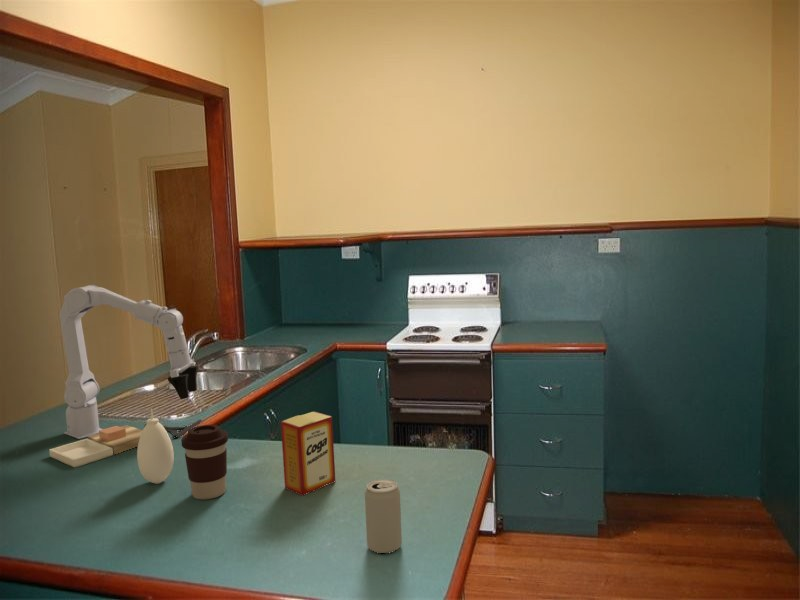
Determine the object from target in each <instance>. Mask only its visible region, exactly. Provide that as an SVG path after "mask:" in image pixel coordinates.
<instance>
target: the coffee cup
mask: <svg viewBox="0 0 800 600" xmlns="http://www.w3.org/2000/svg"><path fill="white" fill-rule="evenodd" d="M228 441H229V434H228V431H226V430H224V429H221V427H220V426H219V425H217V424H216V425H215V424H204V425H203V424H201V425H199V426H197V427H194V428H192V429H190V430H189V431H188V433H186V434H185V435H183V436H182V437H181V442H180V443H181V447H182V448H183V449H185V453H184V455H185V456H184V458H185V464H186V469H187V476H188V479H189V482H190V488H191V494H192V497H193V498H195V499H197V500H205V501H206V500H211V499H216V498H218V497H220V496H222V495H224V493H225V492H226V491H227V488H226V485H227V483H226V482H227V480H226V478H227V477H226V476H227V470H228V468H227V467H228V466H227V463H228V462H227V459H228V458H227V447H226V443H228Z"/></svg>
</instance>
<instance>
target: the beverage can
mask: <svg viewBox="0 0 800 600" xmlns="http://www.w3.org/2000/svg"><path fill="white" fill-rule="evenodd" d="M398 486H399V484H398V482H396V481H394V480H391V479H387V478H385V479H384V478H381V479H375V480H372V481H370V482H369V483H367V484H366V490H365V491H364V501H365V504H364V505H365V521H366V522H365V524H366V525H365V526H366V527H365V528H366V529H365V530H366V532H365V533H366V546H367V548H368V549H369V550H370V551H371V552H373V551H374V552H373V553H375V552H378V553H389V552H392V551H394V552H396V551H397V550H399V548H400V547H401V546H402V543H403V540H402V539H403V538H402V511H401V507H402V506H401V490H400V488H399V487H398ZM395 550H396V551H395ZM378 553H377V554H378ZM392 553H393V552H392ZM389 554H390V553H389Z"/></svg>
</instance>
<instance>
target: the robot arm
mask: <svg viewBox="0 0 800 600" xmlns="http://www.w3.org/2000/svg"><path fill="white" fill-rule="evenodd" d="M152 302H153V301H152V300H150V299H146V300H145V299H144V300H143V299H142V300H140V301H138V302H137V301H135V300H133V299H130V298H128V297H127V296H124V295H121V294H118V293H116V292H113V291H112V290H110V289H107V288H104V287H101V286H97V285H96V284H88V285H85V286H81V287H74V288H72V289H71V290H69V291H68V292H67V293H66V294H65V295H64V296H63V303H62V306H61V309H60V311H59V322H60V329H61V333H62V334H61V335H62V340H63V347H64V353H65V357H66V365H67V370H68V376H67V378H66V381H65V382H64V384H65V391H64V394H63V399H64V401H65V404H67V405H68V406H67V408H66V411H65V421H66V430H67V431H64V432H63V433H64V435H67V436H70V437H73V438H75V439H78V440H82V439H86V438H88V436H91V435H95V434H98V433H99V430H103V429H104V428H101V427H100V423H99V421H100V420H99V412H98V411H99V410H98V401H97V396H98V395H99V393H100V386H99V383H98V382H97V381H96V378H95V374H94V373H93V371H91V370H90V367H89V361H88V354H87V347H86V341H85V336H84V330H83V324H82V323H83V322H82V318H83V316H85V315H86V313H88V312H89V310H91V309H93V308H94V307H96V306H101V305H106V306H111V307H113V308H117V309H120V310H123V311H126V312H130V313H131V314H133V316H134V318H135V319H137V320H139V321H141V322H145V323H146V324H150V325H152V326H155V327H157V328H158V330H160V331H161V332H162V334H163V339H164V340H163V341H164V343H165V347H166V352H167V355H168V360H169V363H170V370H169V375H170V376H168V377H167V382H168V383H169V384H171V385H172V387H173V388H174V389H175V391H176V393H177V395H178V397H179V398H180V400H184V399H188V398H189V393H193V392H196V391H197V385H198V384H197V376H198V370H199V366H198V365H196V364H197V363H196V361H193V360H194V359H193V358H191V356H190V351H189V348H188V345H187V344H188V343H187V340H186V336H185V332H184V329H183V328H184V327H183V325H182V324H183V322H184V316H183V314H182V312H181V311H179V310H177V309H176V308H170V309H168V307H167V306H161V305H158V304H156V303H155V304H154V303H152Z"/></svg>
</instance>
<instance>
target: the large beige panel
mask: <svg viewBox="0 0 800 600" xmlns="http://www.w3.org/2000/svg"><path fill="white" fill-rule="evenodd" d="M121 427H122V428H125V430H126V437H122V438H119V439H116V440H113V441H109V442H108V441H106V440H103V439H100V437H99V433H98V434H95V435H91V436H88V437H87V439H90V440H93V441H95V442H98V443H101V444H103V445H106V446H109V447H111V448H113V454H114V455H113V456H115V454H116V455H118V453H119V454H122V453H124V452H123V451H125V452H127V451H126V450H128V451H130V450H129V449H131V450H133V449H132V448H134V449H136V448H135V447H137V448H138V443H139V439H140V436H141V433H142V431H143V429H140V428H138V427H134V426H130V425H128V424H126V425H123V426H121ZM121 452H122V453H121Z"/></svg>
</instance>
